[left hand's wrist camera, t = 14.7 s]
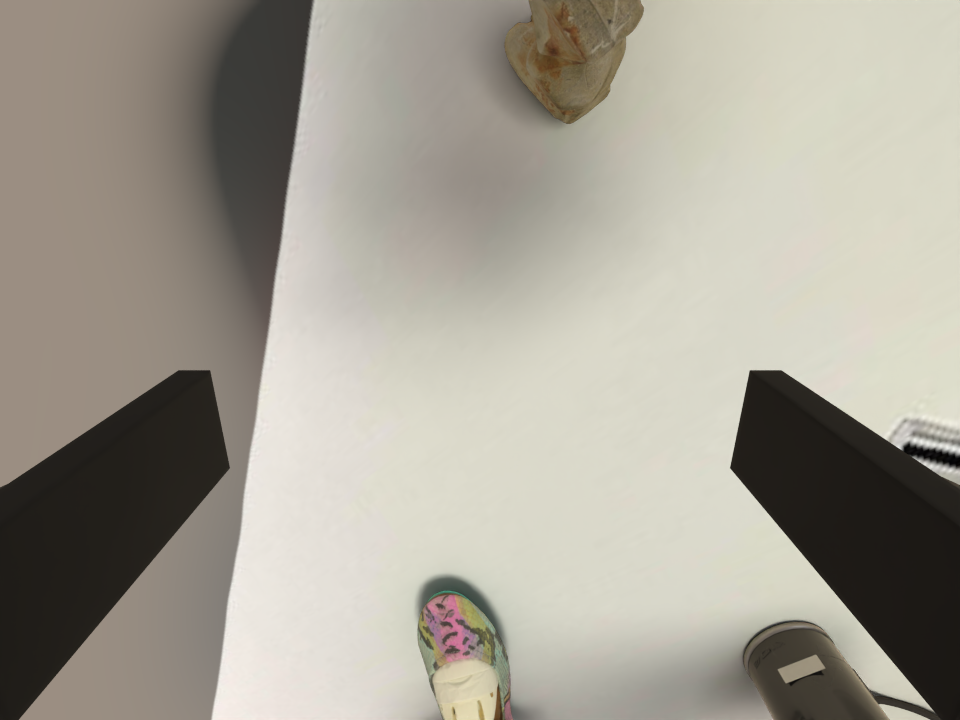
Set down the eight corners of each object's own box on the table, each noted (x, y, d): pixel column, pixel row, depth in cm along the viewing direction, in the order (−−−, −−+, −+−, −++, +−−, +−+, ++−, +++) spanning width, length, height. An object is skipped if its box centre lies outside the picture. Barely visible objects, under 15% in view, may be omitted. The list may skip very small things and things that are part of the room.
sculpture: (561, -8, 34) (619, -133, 20) (614, 91, 36) (700, 41, 22) (489, 49, 35) (496, -32, 21) (544, 142, 37) (584, 125, 23)
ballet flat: (492, 577, 50) (495, 657, 42) (528, 737, 59) (536, 828, 51) (409, 589, 50) (396, 670, 42) (457, 745, 59) (453, 837, 51)
